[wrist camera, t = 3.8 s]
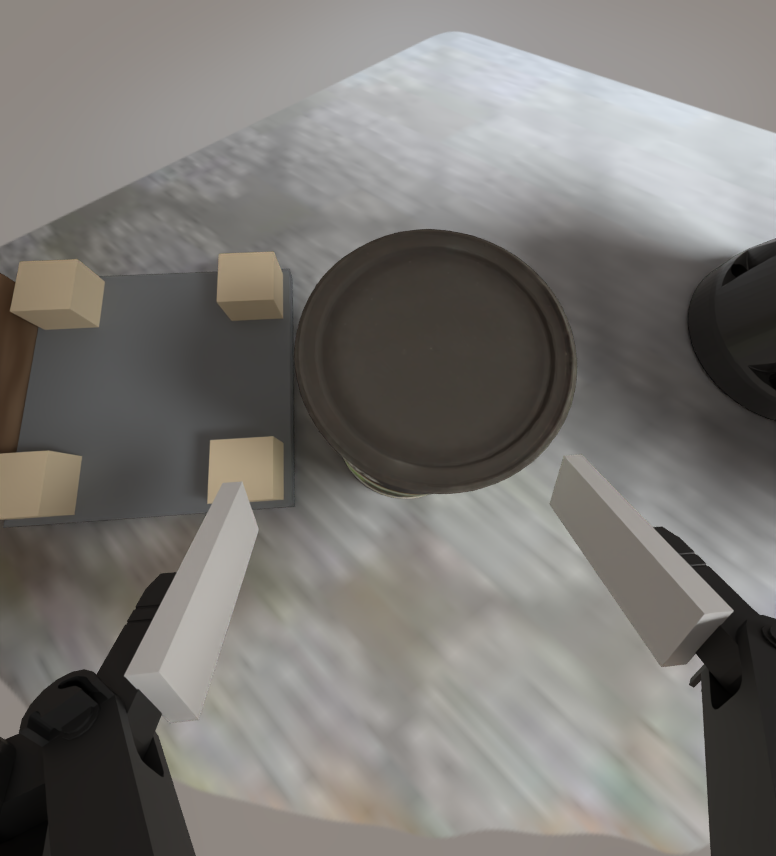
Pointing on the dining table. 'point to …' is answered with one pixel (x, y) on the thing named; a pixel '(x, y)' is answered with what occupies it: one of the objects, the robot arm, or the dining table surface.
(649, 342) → the dining table surface
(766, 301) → the robot arm
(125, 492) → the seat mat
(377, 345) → the coffee can
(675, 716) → the dining table surface
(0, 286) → the walnut shelf
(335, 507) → the dining table surface
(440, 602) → the dining table surface
